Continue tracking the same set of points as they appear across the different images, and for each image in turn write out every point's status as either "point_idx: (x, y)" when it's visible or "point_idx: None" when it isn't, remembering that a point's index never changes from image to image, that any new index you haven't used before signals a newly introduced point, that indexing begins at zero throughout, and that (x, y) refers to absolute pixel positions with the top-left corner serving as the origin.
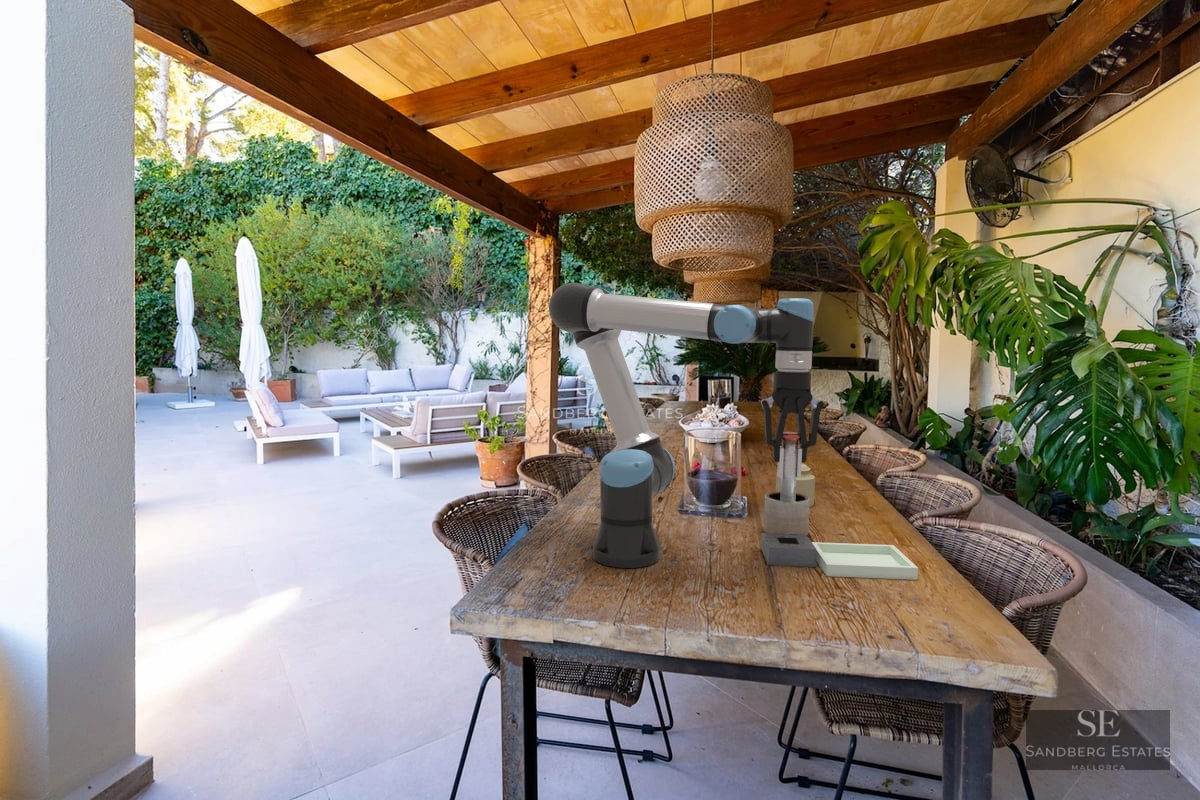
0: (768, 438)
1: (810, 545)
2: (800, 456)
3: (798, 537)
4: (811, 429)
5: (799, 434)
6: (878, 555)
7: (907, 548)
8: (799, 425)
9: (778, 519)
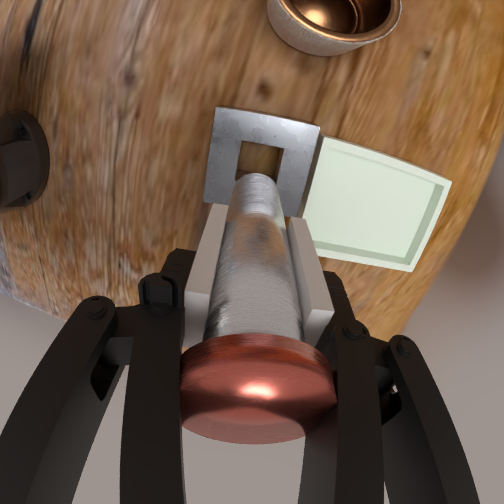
0: (96, 374)
1: (294, 197)
2: None
3: (292, 145)
4: (388, 451)
5: (298, 437)
6: (419, 181)
7: (477, 151)
8: (300, 493)
9: (289, 33)
